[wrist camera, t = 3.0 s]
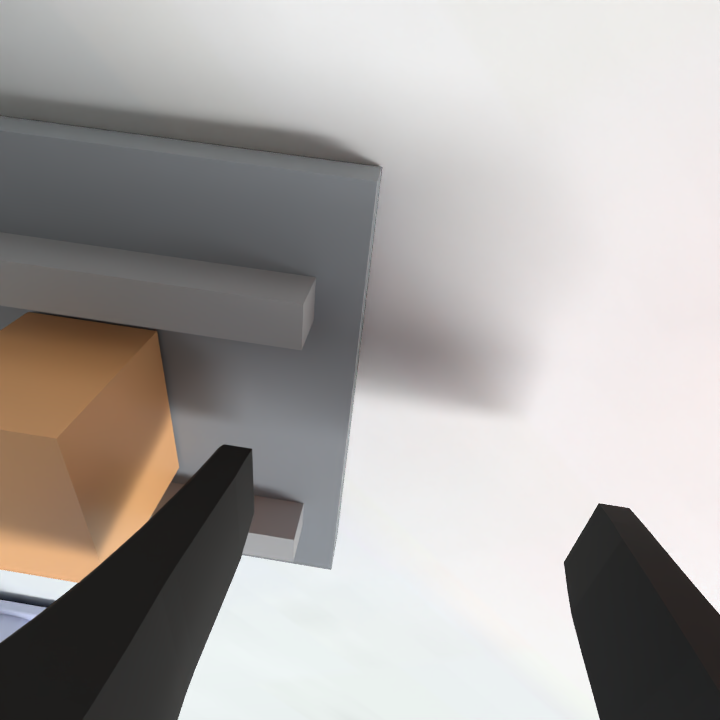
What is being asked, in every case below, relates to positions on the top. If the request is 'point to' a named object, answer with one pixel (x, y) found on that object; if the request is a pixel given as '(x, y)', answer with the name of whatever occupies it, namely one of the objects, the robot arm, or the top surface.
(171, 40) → the top surface
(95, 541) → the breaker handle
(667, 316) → the top surface
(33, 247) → the rails
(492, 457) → the top surface
